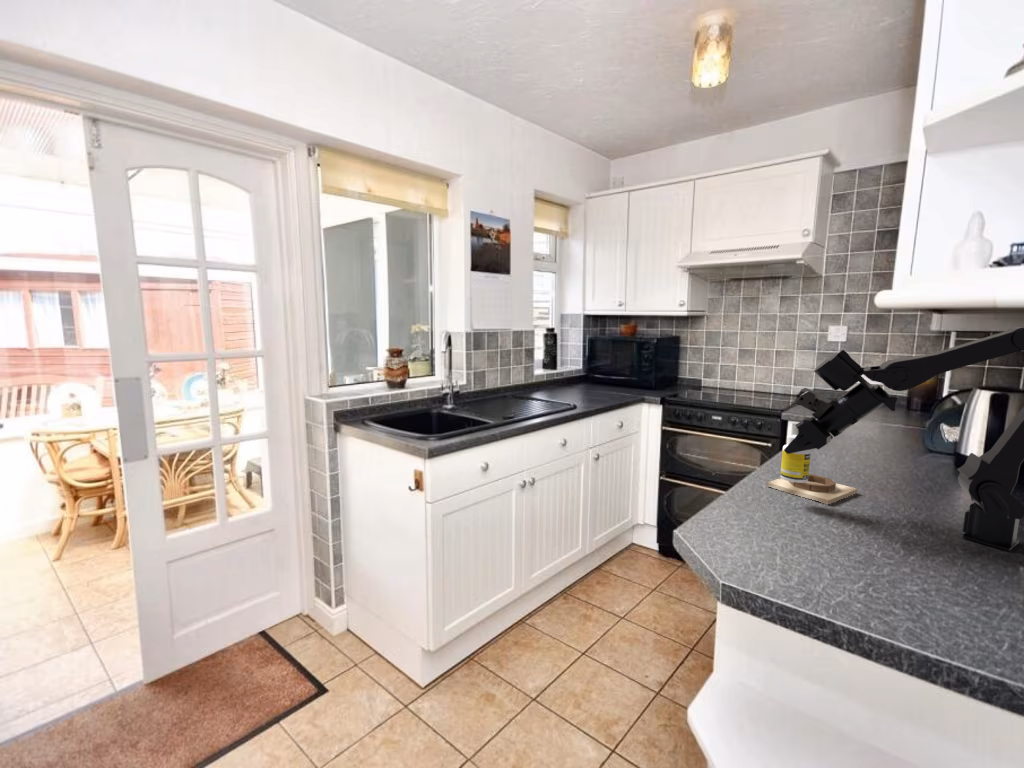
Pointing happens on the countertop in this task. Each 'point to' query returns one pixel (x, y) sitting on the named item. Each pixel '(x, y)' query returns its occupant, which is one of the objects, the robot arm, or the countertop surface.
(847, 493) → the socket board
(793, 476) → the supplement bottle
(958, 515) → the countertop surface
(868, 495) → the countertop surface
